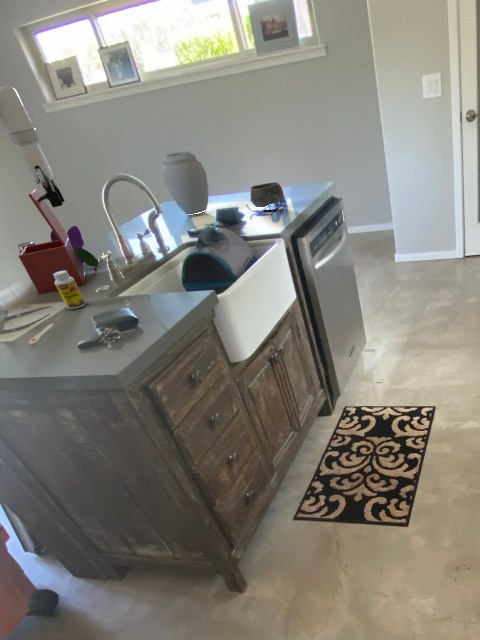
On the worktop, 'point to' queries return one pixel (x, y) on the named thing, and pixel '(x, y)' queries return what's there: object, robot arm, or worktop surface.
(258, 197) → the bowl
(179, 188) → the vase
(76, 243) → the flower
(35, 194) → the lid
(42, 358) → the worktop surface
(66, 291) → the supplement bottle
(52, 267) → the red hollow box
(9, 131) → the robot arm
